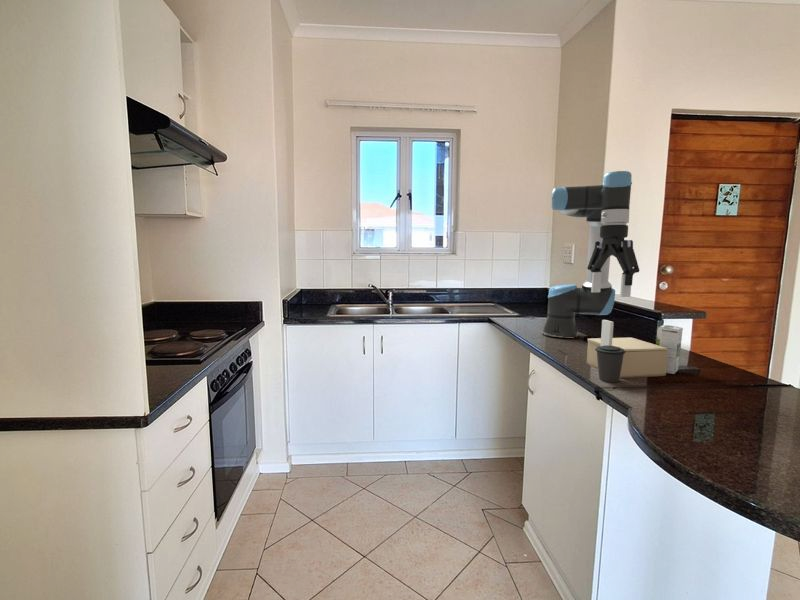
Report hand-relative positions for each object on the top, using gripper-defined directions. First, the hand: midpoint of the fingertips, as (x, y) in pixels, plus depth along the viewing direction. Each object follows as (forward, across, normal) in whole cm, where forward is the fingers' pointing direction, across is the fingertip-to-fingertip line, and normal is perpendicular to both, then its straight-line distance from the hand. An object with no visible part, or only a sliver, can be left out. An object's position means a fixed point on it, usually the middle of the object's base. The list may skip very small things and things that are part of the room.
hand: (609, 294), depth 123 cm
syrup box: (+25, +1, +21) cm, 33 cm away
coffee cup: (+25, +6, -3) cm, 26 cm away
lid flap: (+17, -3, +8) cm, 19 cm away
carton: (+25, -3, +9) cm, 27 cm away
